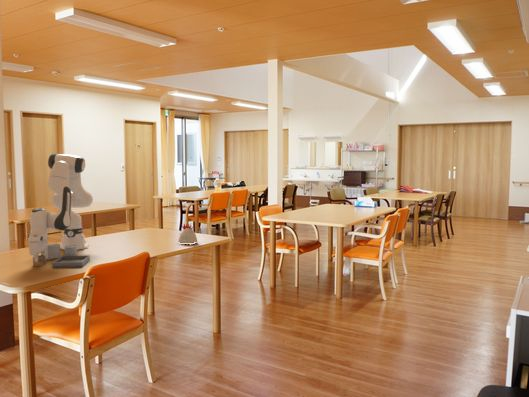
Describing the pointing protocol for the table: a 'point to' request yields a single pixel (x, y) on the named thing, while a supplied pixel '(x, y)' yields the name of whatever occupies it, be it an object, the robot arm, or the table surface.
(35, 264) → the walnut block
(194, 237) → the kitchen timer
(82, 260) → the tray
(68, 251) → the grey block
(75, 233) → the robot arm
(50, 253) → the medicine box
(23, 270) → the table surface
